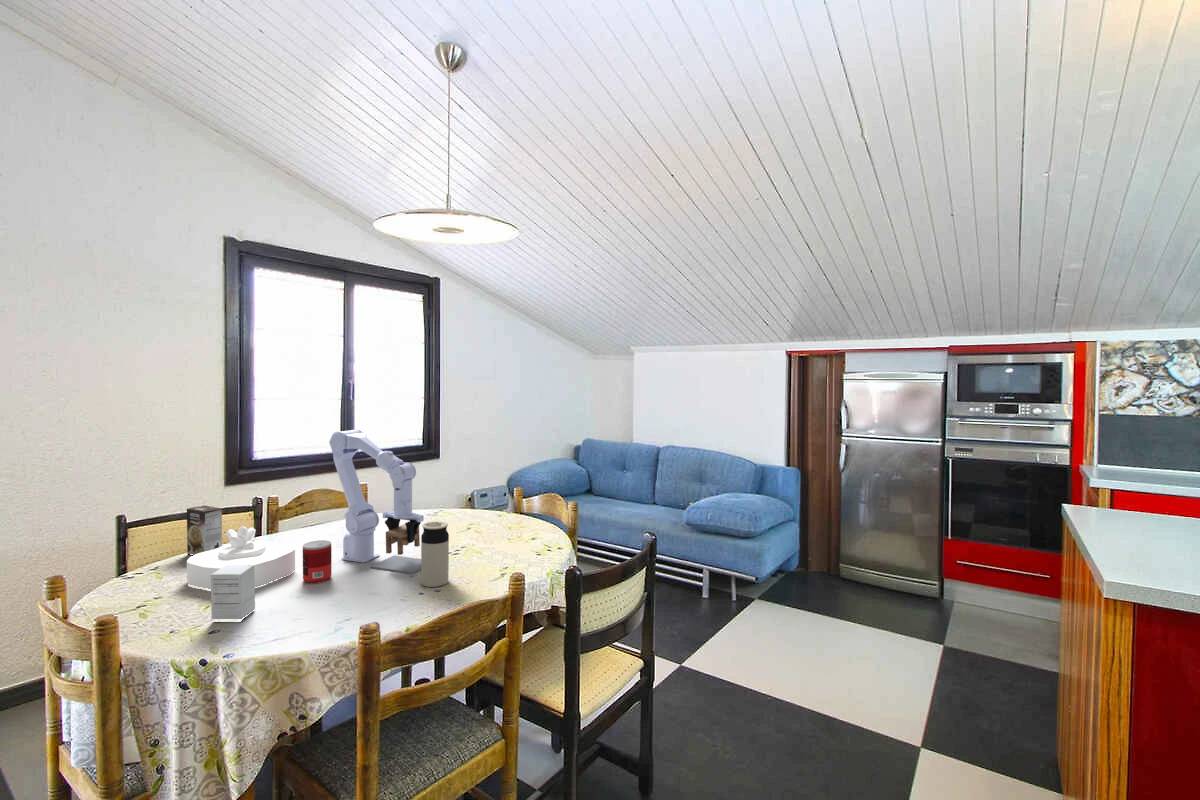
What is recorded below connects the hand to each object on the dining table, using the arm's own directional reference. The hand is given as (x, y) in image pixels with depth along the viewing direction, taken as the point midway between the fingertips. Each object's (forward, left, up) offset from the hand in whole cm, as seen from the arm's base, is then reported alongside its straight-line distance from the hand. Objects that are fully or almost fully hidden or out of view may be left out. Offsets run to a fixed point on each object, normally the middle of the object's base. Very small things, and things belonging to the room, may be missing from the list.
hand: (402, 541), depth 192 cm
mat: (0, 0, -8) cm, 8 cm away
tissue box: (-39, -26, -8) cm, 47 cm away
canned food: (-16, -20, -8) cm, 27 cm away
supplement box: (-15, -49, -8) cm, 52 cm away
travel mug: (+19, -10, -8) cm, 23 cm away
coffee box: (-69, -15, -8) cm, 71 cm away
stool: (0, 0, -3) cm, 3 cm away
